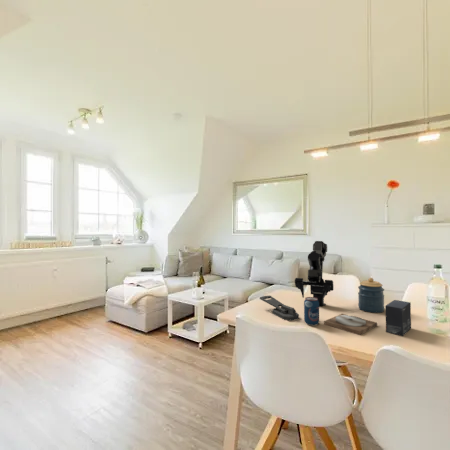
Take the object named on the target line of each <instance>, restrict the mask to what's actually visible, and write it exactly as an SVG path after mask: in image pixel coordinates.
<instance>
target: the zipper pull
mask: <svg viewBox="0 0 450 450" xmlns="http://www.w3.org/2000/svg"><path fill="white" fill-rule="evenodd" d="M259 300H261V301H262V302H264V303H266V304H268V305H269V306H272V307H274V308H273V309H272V315H275V316H276V317H278V318H280V319H281V320H283V319H284V320H283V321H287V322H288V321H289V322H291V321H296V320H298V319H299V318H300V314H299V313H298V312H297V311H296V309H295V308H294V307H291V306H290V305H286V304H284V303H282V302H280V301H279V300H278V299H276V298H274V297H273V296H272V295H262V296H260V297H259Z"/></svg>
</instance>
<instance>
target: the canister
mask: <svg viewBox="0 0 450 450" xmlns="http://www.w3.org/2000/svg"><path fill="white" fill-rule="evenodd" d="M384 291H385V288H383V284H382V283H381V282H379V281H376V280H374V278H373V277H368V280H362V281H360V282H359V286H358V291H357V292H358V298H357V299H358V303H357V306H358V309H359V310H361V311H363V312H368V313H377V314H378V313H383V312H385V294H384Z"/></svg>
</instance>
